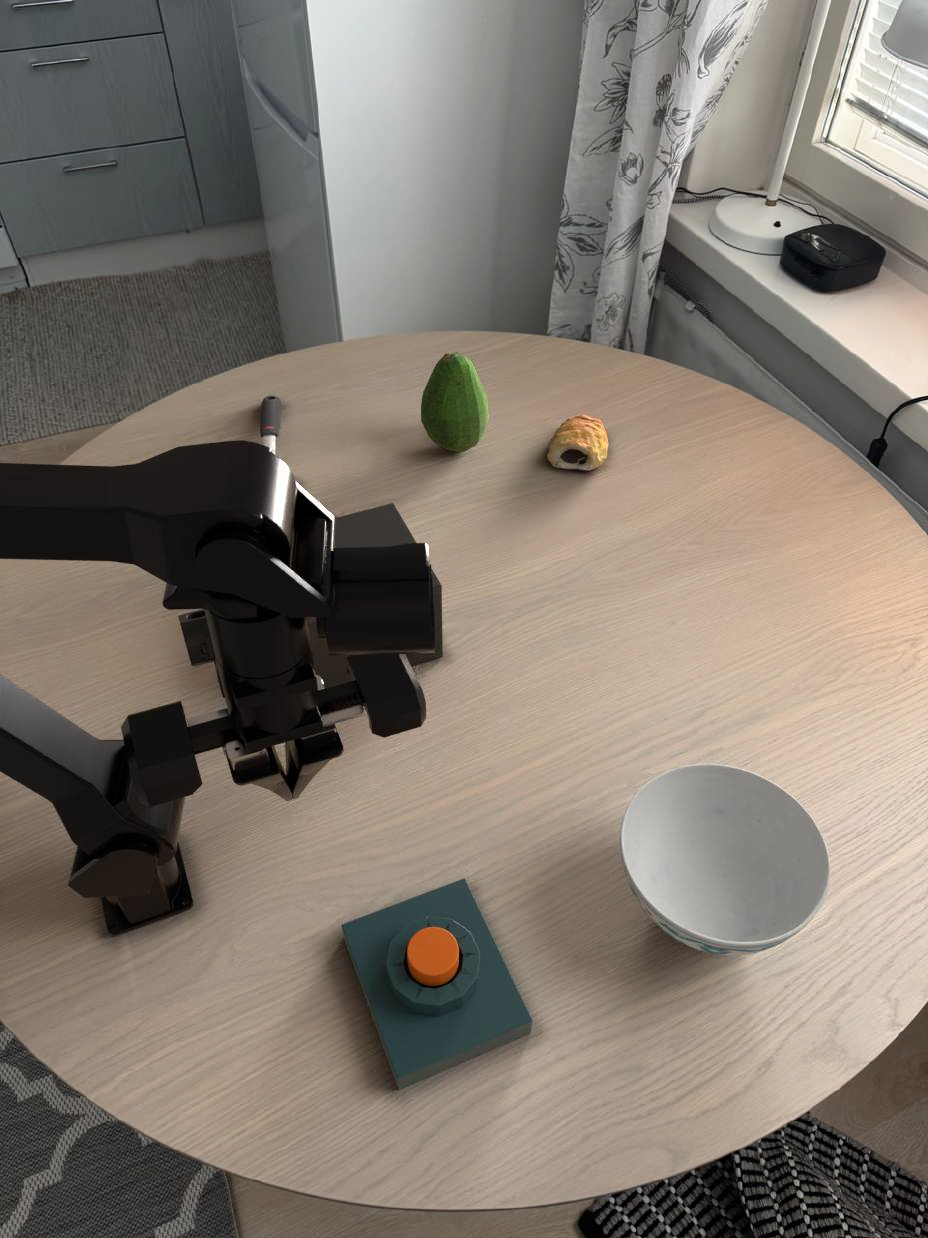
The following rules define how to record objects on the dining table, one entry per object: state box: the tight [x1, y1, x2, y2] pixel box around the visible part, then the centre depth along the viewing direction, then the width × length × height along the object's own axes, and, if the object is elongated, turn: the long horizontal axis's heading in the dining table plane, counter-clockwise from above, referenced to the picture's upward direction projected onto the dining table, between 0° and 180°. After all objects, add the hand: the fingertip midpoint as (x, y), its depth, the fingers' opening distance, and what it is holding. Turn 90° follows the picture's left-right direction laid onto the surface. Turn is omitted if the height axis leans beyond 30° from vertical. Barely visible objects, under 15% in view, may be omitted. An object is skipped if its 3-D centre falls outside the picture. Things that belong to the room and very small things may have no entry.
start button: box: [407, 927, 459, 986], centre depth 70 cm, size 4×4×2 cm
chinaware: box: [619, 763, 832, 956], centre depth 75 cm, size 15×15×8 cm
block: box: [341, 877, 533, 1091], centre depth 71 cm, size 12×10×4 cm
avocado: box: [420, 351, 490, 453], centre depth 115 cm, size 8×8×12 cm
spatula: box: [259, 395, 299, 484], centre depth 117 cm, size 24×7×2 cm, turn 6°
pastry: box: [546, 414, 610, 472], centre depth 118 cm, size 9×7×4 cm
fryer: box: [308, 502, 444, 688], centre depth 94 cm, size 14×13×10 cm
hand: (290, 794), depth 70 cm, fingers closed
